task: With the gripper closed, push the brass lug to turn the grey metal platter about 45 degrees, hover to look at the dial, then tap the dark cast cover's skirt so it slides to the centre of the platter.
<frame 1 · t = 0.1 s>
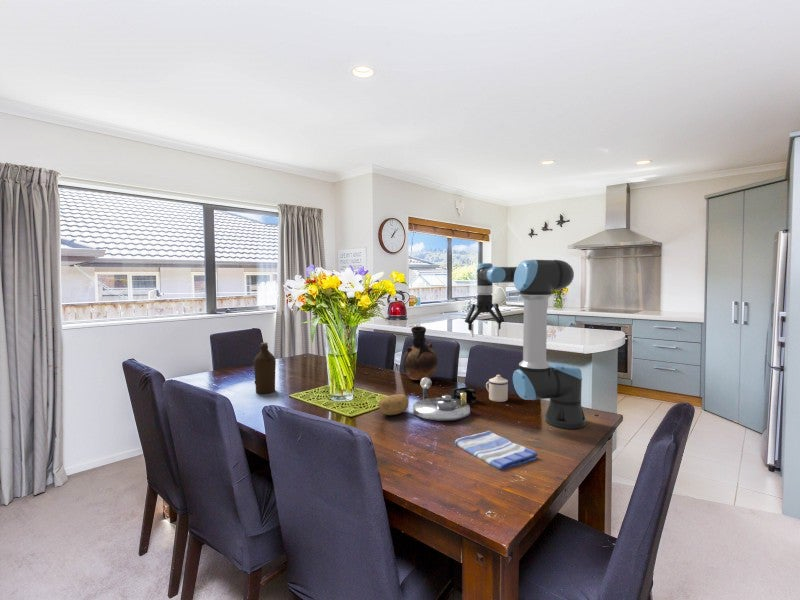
hand: (484, 336, 212), 28 cm above the table, fingers open, 13 cm apart
olive oil: (265, 391, 215), on the table
turntable: (441, 402, 179), point 5 cm above the table, hinge at 0.0°, touching cover
dial stand: (425, 403, 194), on the table
teacup with lid: (495, 399, 201), on the table
potato: (393, 414, 179), on the table
ceramic vessel: (420, 380, 237), on the table
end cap: (463, 402, 195), on the table
dish towel: (494, 453, 142), on the table
cover: (446, 407, 177), point 3 cm above the table, touching turntable
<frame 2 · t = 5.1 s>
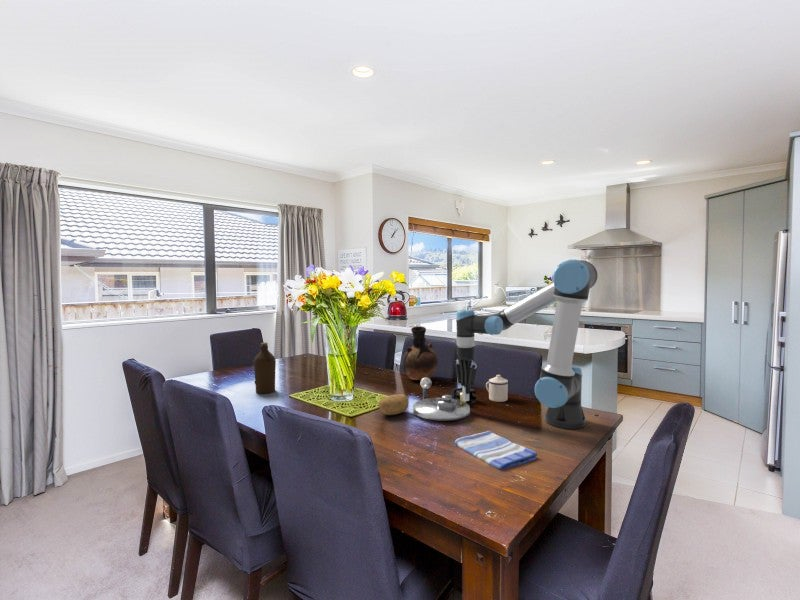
hand: (465, 400, 180), 5 cm above the table, fingers closed
turntable: (441, 402, 179), point 5 cm above the table, hinge at 3.1°, touching cover, gripper
everything else where it was.
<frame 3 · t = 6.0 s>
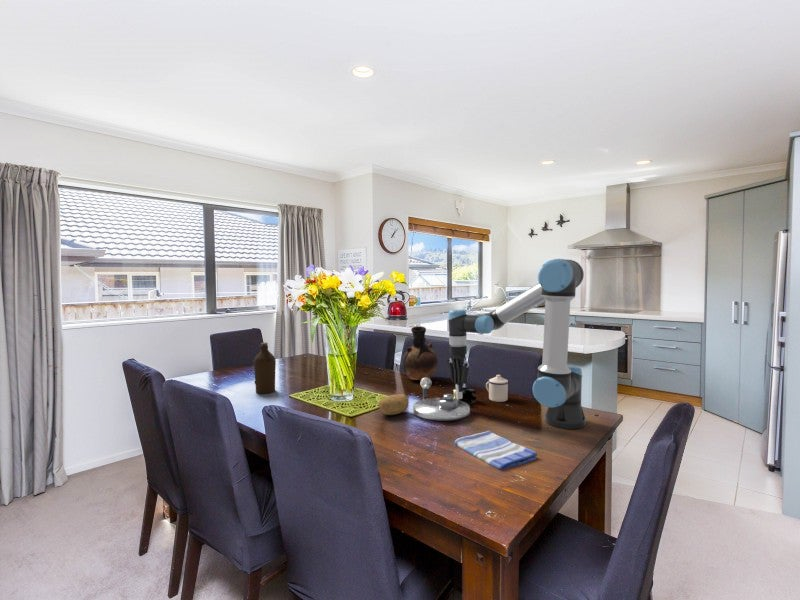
hand: (459, 398, 185), 5 cm above the table, fingers closed
turntable: (441, 402, 179), point 5 cm above the table, hinge at 31.0°, touching cover, gripper
cover: (448, 406, 179), point 3 cm above the table, touching turntable
everything else where it was.
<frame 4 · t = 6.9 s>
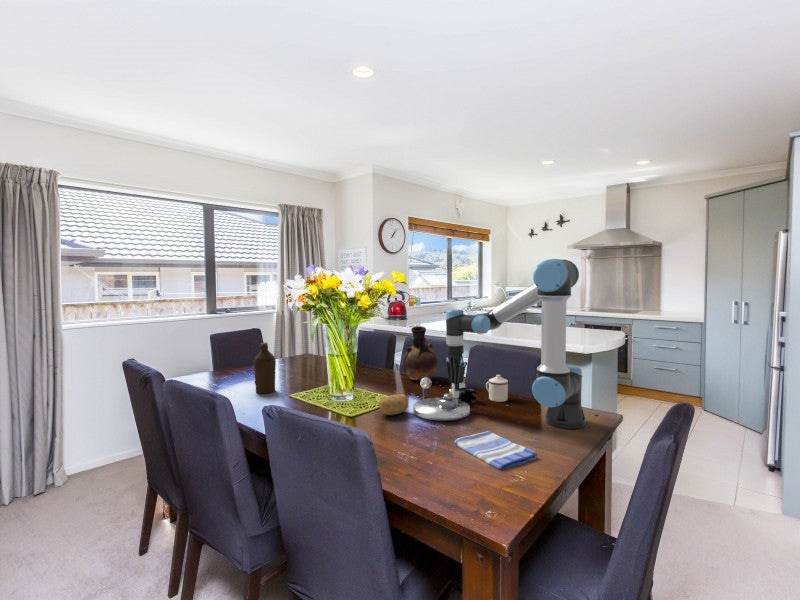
hand: (455, 397, 186), 5 cm above the table, fingers closed
turntable: (441, 402, 179), point 5 cm above the table, hinge at 43.2°, touching cover, gripper
everything else where it was.
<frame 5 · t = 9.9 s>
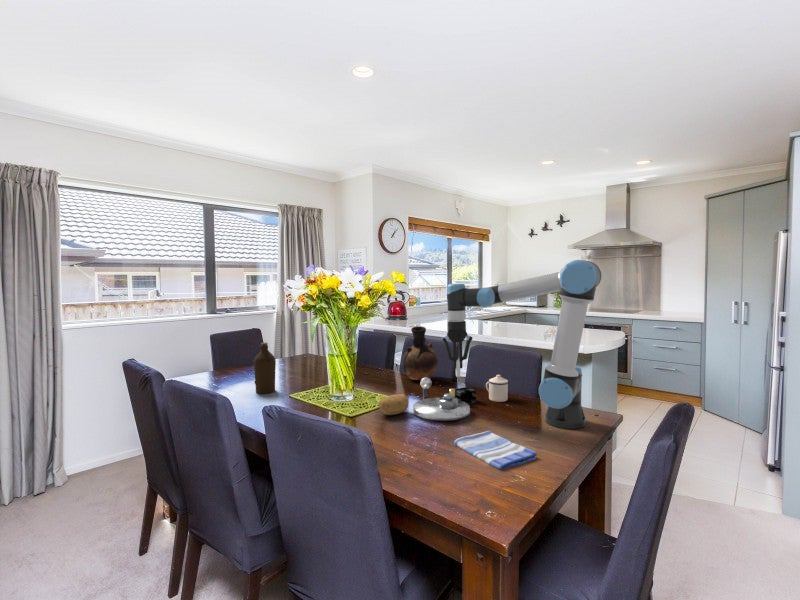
hand: (457, 376, 178), 16 cm above the table, fingers closed
turntable: (441, 402, 179), point 5 cm above the table, hinge at 43.3°, touching cover
everything else where it was.
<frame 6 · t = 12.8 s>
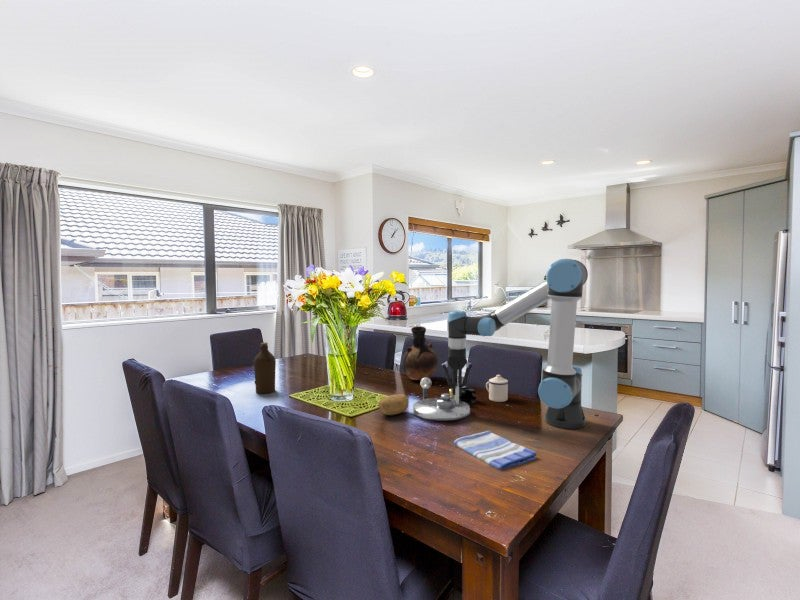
hand: (456, 402, 179), 5 cm above the table, fingers closed
cover: (445, 406, 179), point 3 cm above the table, touching gripper, turntable
everything else where it was.
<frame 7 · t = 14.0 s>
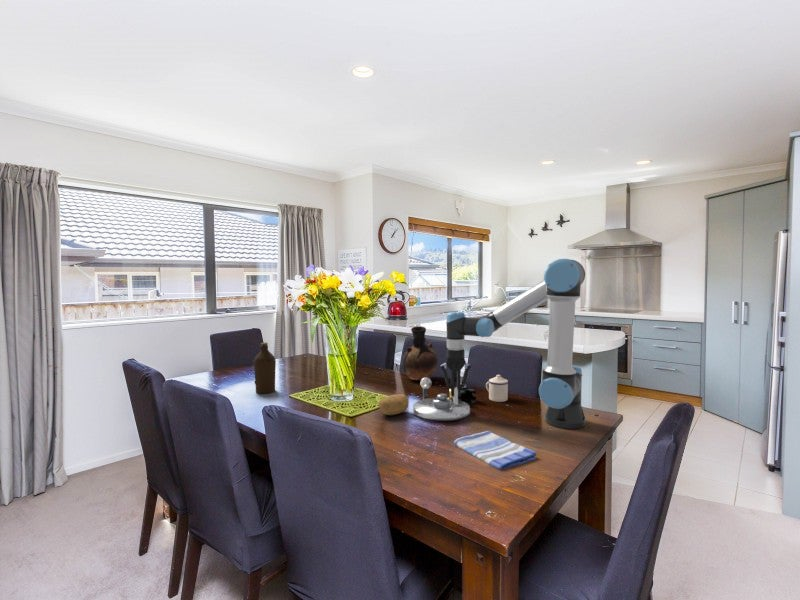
hand: (455, 403, 179), 4 cm above the table, fingers closed
cover: (442, 406, 179), point 3 cm above the table, touching turntable
everything else where it was.
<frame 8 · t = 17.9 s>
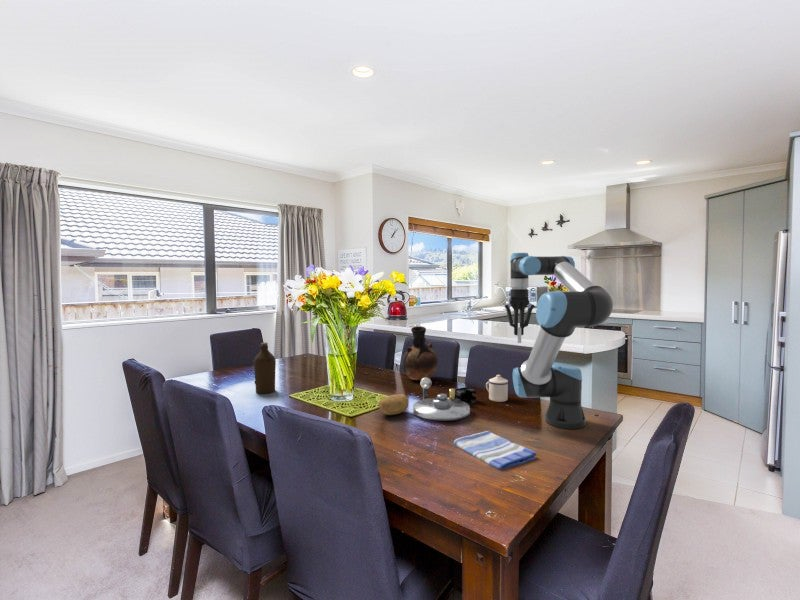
hand: (518, 342, 184), 29 cm above the table, fingers closed
nothing on the table moved.
at the end: turntable at +43° (first picture: +0°); cover 0.4 cm from the turntable (horizontally); cover tilted 0° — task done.
